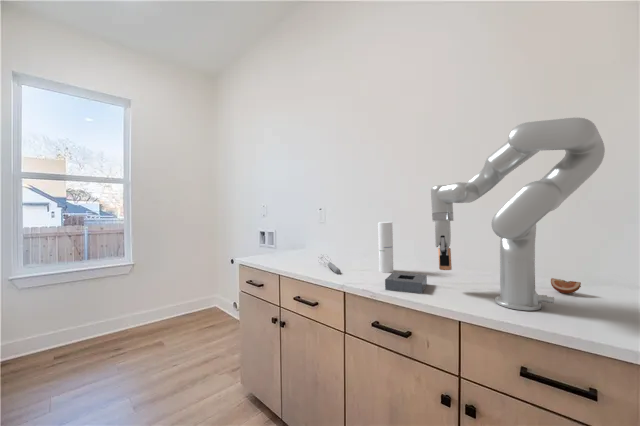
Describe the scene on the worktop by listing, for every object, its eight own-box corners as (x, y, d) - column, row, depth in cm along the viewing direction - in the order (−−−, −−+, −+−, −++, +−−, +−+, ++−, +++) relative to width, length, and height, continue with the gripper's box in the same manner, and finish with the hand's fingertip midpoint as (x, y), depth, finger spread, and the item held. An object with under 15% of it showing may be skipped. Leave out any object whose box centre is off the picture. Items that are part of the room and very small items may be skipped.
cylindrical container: (393, 272, 146) (392, 222, 145) (379, 272, 147) (378, 222, 147) (393, 269, 153) (392, 221, 152) (379, 269, 154) (378, 222, 154)
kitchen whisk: (334, 276, 143) (333, 263, 143) (316, 264, 176) (316, 253, 176) (345, 275, 145) (345, 262, 145) (326, 263, 177) (326, 252, 177)
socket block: (426, 284, 123) (426, 274, 123) (422, 293, 111) (421, 282, 110) (393, 281, 129) (393, 272, 129) (385, 289, 117) (385, 279, 117)
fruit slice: (582, 294, 105) (582, 280, 105) (579, 298, 101) (579, 283, 101) (552, 289, 111) (552, 276, 111) (549, 293, 107) (548, 279, 107)
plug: (452, 268, 114) (450, 247, 114) (451, 270, 110) (450, 249, 110) (439, 267, 116) (438, 247, 116) (438, 270, 112) (437, 249, 112)
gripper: (434, 217, 122) (436, 260, 122) (429, 218, 107) (432, 268, 107) (454, 216, 119) (456, 261, 119) (452, 217, 104) (455, 269, 104)
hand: (445, 264), depth 113 cm, fingers closed on plug, 4 cm apart
